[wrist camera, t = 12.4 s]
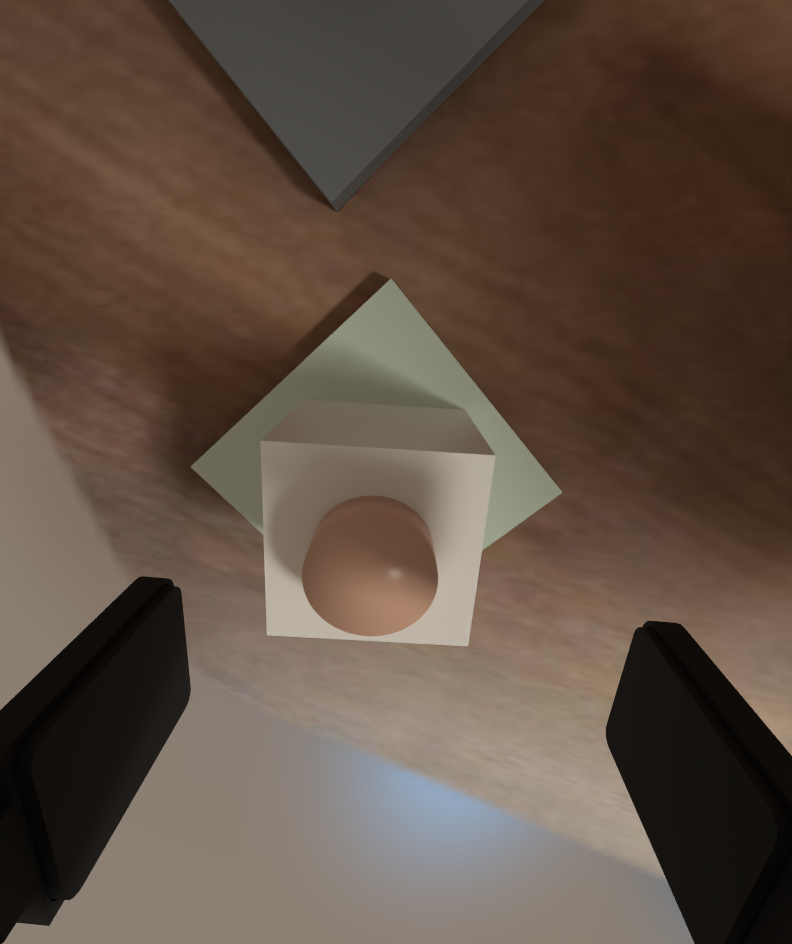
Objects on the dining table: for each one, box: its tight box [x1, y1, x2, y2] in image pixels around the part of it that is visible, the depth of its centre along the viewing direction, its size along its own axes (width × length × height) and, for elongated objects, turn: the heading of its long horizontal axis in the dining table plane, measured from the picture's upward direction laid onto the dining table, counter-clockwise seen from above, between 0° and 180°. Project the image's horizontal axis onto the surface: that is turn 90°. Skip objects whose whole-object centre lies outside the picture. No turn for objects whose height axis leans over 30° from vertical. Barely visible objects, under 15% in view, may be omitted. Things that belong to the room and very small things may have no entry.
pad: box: [191, 279, 563, 550], centre depth 20 cm, size 11×11×1 cm
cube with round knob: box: [260, 399, 496, 646], centre depth 16 cm, size 6×6×8 cm
